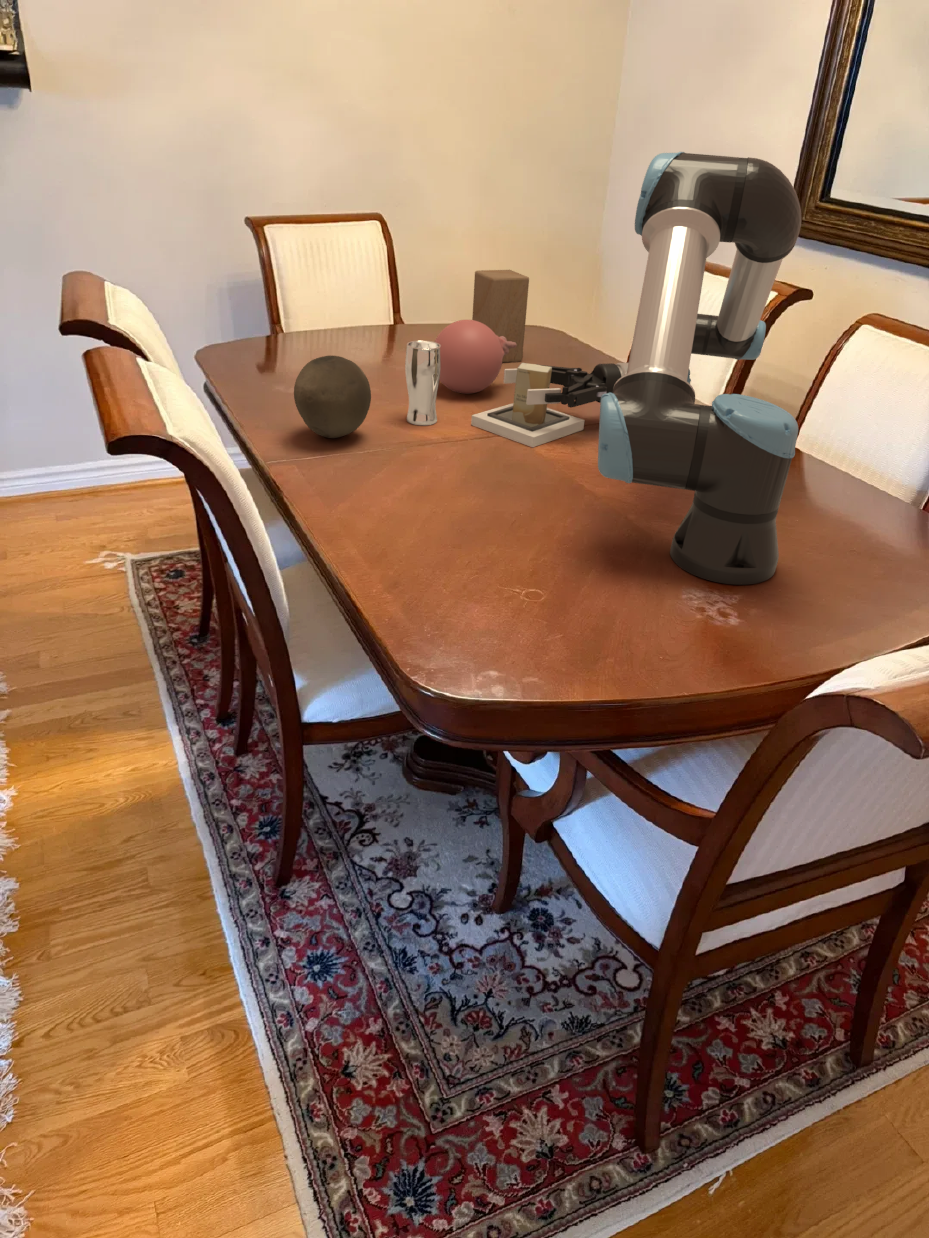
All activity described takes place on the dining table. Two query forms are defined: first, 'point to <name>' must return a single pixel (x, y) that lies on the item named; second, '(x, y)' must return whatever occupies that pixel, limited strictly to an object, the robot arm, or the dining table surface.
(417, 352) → the beer glass
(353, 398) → the dark brown ball
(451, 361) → the balloon
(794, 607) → the dining table surface
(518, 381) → the skincare box
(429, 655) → the dining table surface
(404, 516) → the dining table surface
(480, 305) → the wooden block
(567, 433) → the socket block
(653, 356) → the robot arm
